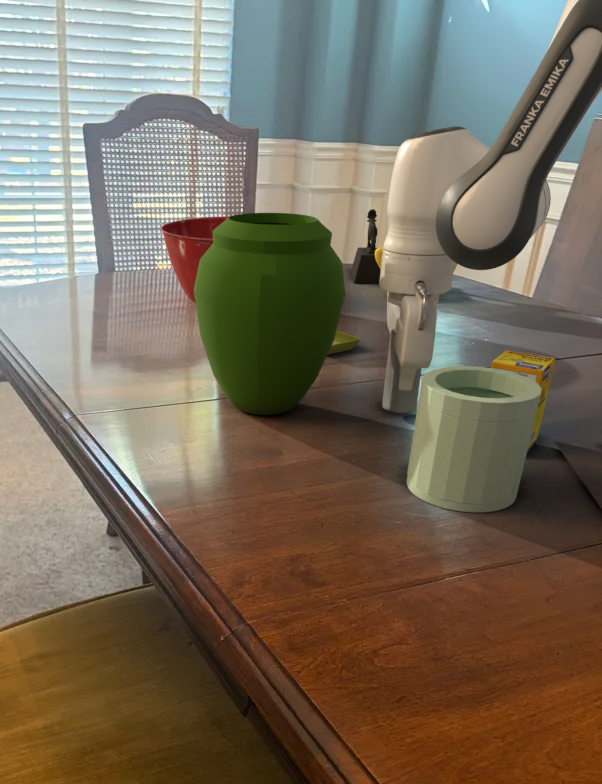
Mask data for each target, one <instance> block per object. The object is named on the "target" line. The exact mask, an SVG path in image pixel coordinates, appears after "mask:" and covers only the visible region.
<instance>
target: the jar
mask: <svg viewBox="0 0 602 784" xmlns="http://www.w3.org/2000/svg"><path fill="white" fill-rule="evenodd" d="M541 391H542V388H541V387H540V386H539V385H538V383H536V382H534V381H533V380H531V379H529V378H527V377H524V376H521V375H519V374H516V373H513V372H508V371H504V370H499V369H493V368H491V367H485V366H472V365H457V366H456V365H455V366H444V367H439V368H434V369H431V370H429V371H427V372H425V373H424V375H423V376H422V378H421V381H420V387H419V394H418V400H417V407H416V413H415V421H414V428H413V434H412V440H411V447H410V448H411V449H410V453H409V459H408V465H407V472H406V473H407V475H406V476H407V477H406V486H407V488H408V490H409V491H410V493H412V494H413V495H414V496H416V498H418V499H420V500H422V501H424V502H425V503H428V504H430V505H433V506H435V507H439V508H442V509H446V510H451V511H455V512H461V513H462V512H463V513H477V514H478V513H480V514H481V513H493V512H497V511H502V510H504V509H506V508H509V507H510V506H512V504H514V502H515V501H516V499H517V496H518V492H519V487H520V484H521V479H522V475H523V471H524V468H525V462H526V459H527V455H528V454H527V450H528V446H529V442H530V438H531V433H532V429H533V425H534V421H535V417H536V412H537V408H538V404H539V400H540V395H541Z"/></svg>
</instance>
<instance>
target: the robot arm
mask: <svg viewBox="0 0 602 784" xmlns="http://www.w3.org/2000/svg"><path fill="white" fill-rule="evenodd" d="M525 87H526V88H525V89H524V91H523V93H522V94H521V95H520V98H519V100H518V101H517V103H516V105H515V106H514V108H513V110H512V111H511V113H510V114H509V117H508V118H507V120H506V122H505V123H504V125H503V127H502V128H501V130H500V132H499V134H498V136H497V137H496V139H495V140H494V142H493V143H492V145H491V146H490V147H489V146H488V145H486V144H485V143H484V142H483V141H480V140H479V139H478V138H477V137H475V136H474V135H473V134H472V133H471V131H470V130H469V129H468V128H466V127H463V126H457V125H455V126H448V127H441V128H436V129H430V130H427V131H426V130H425V131H421V132H419V133H414V134H412V135H410V136H409V137H407V138H406V139H405V140H404V141H403V142H402V143H401V145H400V146H399V148H398V150H397V153H396V157H395V160H394V163H393V167H392V174H391V179H390V184H389V185H390V186H389V190H388V199H387V206H386V207H387V208H386V214H387V221H388V228H387V234H386V236H385V240H384V241H383V246H382V247H383V253H382V263H381V272H380V281H379V284H378V287H379V288H380V289H381V290H383V291H385V292H386V324H387V325H386V326H387V329H388V332H389V335H390V334H391V330H392V329H394V333H396V335H395V342H394V346H395V350H396V353H397V356H398V359H399V362H400V374H399V377H398V387H399V389H400V390H411V389H412V388H413V382H414V377H415V374H416V371H417V368H422V369H428V368H430V366H431V363H432V360H433V355H434V346H435V341H436V340H435V338H436V330H437V319H438V307H437V305H438V304H439V301H440V295H443V294H447V293H449V292H450V291H451V290H452V284H453V280H454V279H453V277H454V272H455V271H454V266H455V263H457V265H459V266H461V267H463V268H465V269H469V270H474V271H488V270H493V269H497V268H500V267H502V266H505V265H506V264H508V263H509V262H511V261H512V260H514V259H515V258H516V257H518V256H519V254H521V252H522V251H523V250H524V249H525V248H526V246H527V245H528V243H529V241H530V240H531V239H532V238H533V236H534V235H535V234H536V233H537V232H538V231H539V229H540V228H541V227H542V226H543V224H544V223H545V221H546V219H547V216H548V214H549V211H550V207H551V202H552V201H551V199H552V198H551V197H552V196H551V189H550V186H549V183H548V181H547V179H548V176H549V174H550V172H551V171H552V169H553V167H554V166H555V164H556V163H557V161H558V159H559V157H561V154H562V153H563V152H564V149H565V148H566V146H567V145H568V144H569V142H570V140H571V138H572V137H573V135H574V133H575V132H576V130H577V129H578V127H579V126H580V124H581V122H582V120H583V119H584V117H585V116H586V115H587V113H588V111H589V110H590V108H591V106H592V105H593V103H594V102H595V100H596V99H597V98H598V96H599V95H600V93H601V92H602V0H567V1H566V3H565V6H564V9H563V11H562V13H561V16H560V19H559V21H558V23H557V26H556V29H555V31H554V34H553V37H552V39H551V40H550V44H549V46H548V48H547V50H546V52H545V54H544V56H543V58H542V60H541V61H540V63H539V64H538V66H537V68H536V70H535V72H534V74H533V75H532V77H531V79H530V80H529V82H528V84H527V86H525ZM419 329H420V330H419Z"/></svg>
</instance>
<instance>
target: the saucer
mask: <svg viewBox="0 0 602 784" xmlns="http://www.w3.org/2000/svg"><path fill="white" fill-rule="evenodd" d="M361 341H362V337H358V336H356V335H352V334H349V333H347V332H343V331H339V330H338V329H337V330H336V334H335V338H334V342H333V344H332V346H331V348H330V350H329V353H328V355H327V356H329V355H332V354H333V355H334V354H338V353H342V352H346V351H350V350H352V349H353V348H355V347H356V346H357V345H358V344H359V343H360V342H361Z"/></svg>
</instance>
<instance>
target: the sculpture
mask: <svg viewBox="0 0 602 784" xmlns="http://www.w3.org/2000/svg"><path fill="white" fill-rule="evenodd" d="M366 216H367V219H368V220H366V222H367V223H368V227H367V228H368V229H367V244H366V247H361V246H360V247H357V249H356V252H355V256H354V259H353V262H352V266H351V270H350V275H351V280H352V283H353V284H362V285H363V284H364V285H365V284H369V285H372V284H373V285H379V281H380V272H381V269H380V267H379V265H378V263H377V261H376V259H375V251H376V249H377V248H378V247H377V246H376V245H377V236H378V227H377V223H376V222H377V221H378V220H377V219H376V218H377V217H378V214H377V211H376V209H373V208H371V209H369V211H368V212H367V215H366Z"/></svg>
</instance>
